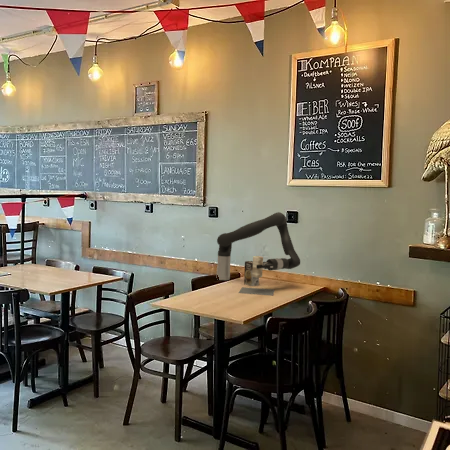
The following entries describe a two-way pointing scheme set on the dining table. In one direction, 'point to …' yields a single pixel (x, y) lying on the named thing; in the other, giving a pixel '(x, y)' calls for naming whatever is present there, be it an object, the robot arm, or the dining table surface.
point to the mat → (257, 291)
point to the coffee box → (250, 275)
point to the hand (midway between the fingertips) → (254, 266)
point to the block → (256, 261)
